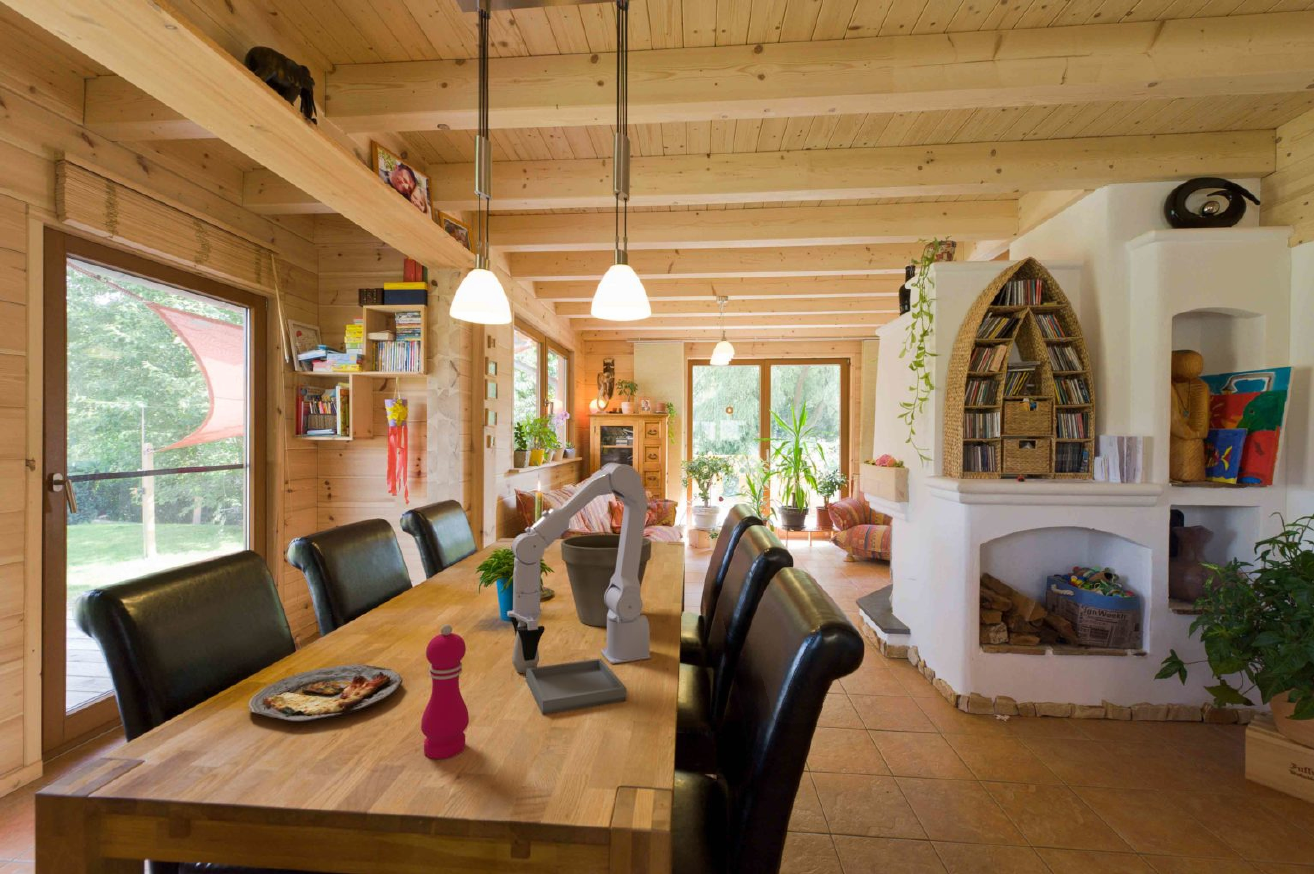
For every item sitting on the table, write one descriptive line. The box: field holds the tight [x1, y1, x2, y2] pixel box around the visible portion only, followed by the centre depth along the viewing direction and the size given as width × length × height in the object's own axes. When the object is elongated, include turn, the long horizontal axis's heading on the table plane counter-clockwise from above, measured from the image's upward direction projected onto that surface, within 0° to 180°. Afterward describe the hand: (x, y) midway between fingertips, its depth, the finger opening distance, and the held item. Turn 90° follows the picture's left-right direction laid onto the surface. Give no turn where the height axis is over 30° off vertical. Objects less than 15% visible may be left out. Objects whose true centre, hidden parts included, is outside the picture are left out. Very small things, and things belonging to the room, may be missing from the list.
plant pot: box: [560, 533, 652, 627], centre depth 166 cm, size 25×25×22 cm
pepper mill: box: [420, 623, 470, 760], centre depth 97 cm, size 7×7×20 cm
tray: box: [525, 657, 627, 716], centre depth 119 cm, size 16×16×2 cm
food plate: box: [248, 663, 403, 722], centre depth 114 cm, size 25×23×4 cm
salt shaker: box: [511, 618, 540, 674], centre depth 129 cm, size 6×6×13 cm
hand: (526, 653), depth 129 cm, fingers open, 7 cm apart
